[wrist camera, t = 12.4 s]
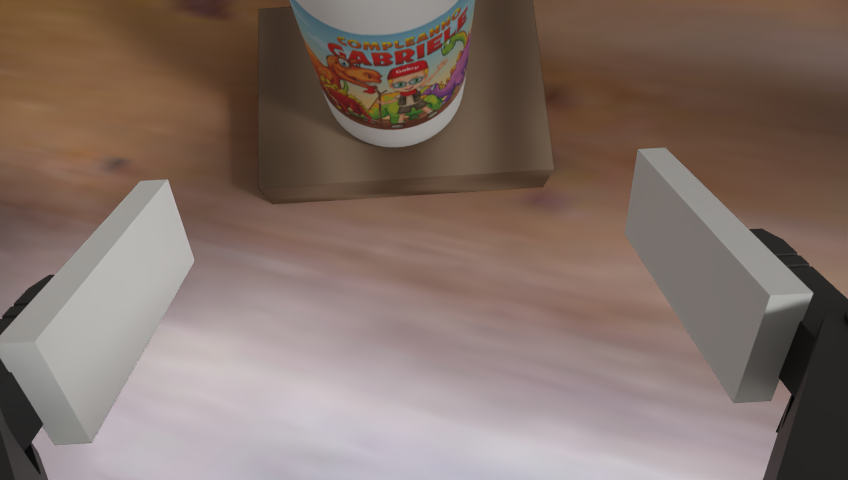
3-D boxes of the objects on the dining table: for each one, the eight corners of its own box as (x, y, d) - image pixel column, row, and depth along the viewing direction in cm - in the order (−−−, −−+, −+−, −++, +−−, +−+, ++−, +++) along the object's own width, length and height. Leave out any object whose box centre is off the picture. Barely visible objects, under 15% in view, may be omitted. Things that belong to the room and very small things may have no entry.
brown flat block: (523, 23, 36) (531, -8, 33) (542, 186, 33) (553, 169, 30) (272, 38, 36) (258, 8, 33) (273, 204, 33) (258, 188, 30)
